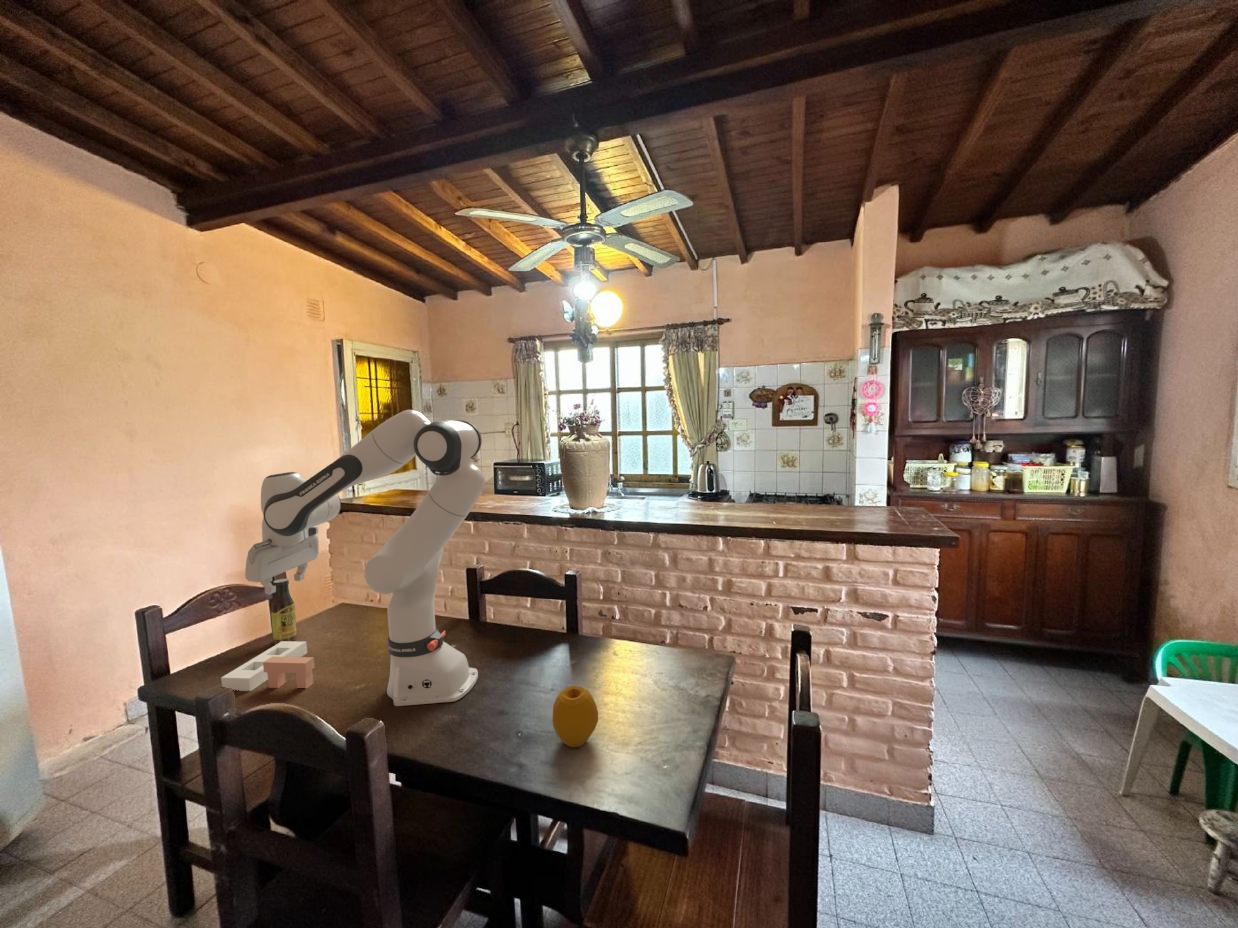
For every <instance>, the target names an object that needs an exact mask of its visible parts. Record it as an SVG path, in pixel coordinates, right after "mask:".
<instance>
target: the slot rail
mask: <svg viewBox="0 0 1238 928" xmlns="http://www.w3.org/2000/svg"><path fill="white" fill-rule="evenodd" d="M307 654H308V645H307V641H295V640H294V641H281V642H280V643H278V644H274V646H272V647H270V648H268V649H267V650H265V651H263V652H262V653H260V654H258V655H256V656H255V657H252V658H251V659H250V660H248V661H246V662H245V663H242V665H240V666H238V667H237V668H235V669H233V670H231V671H230V672H228V673H227V674H225V675H223V676H221V678H220V680H221V688H222V687H226V688H232V689H235V690H237V691H238V690H239V691H238V692H251V691H253V690H254V689H256V688H258V687H259V686H260V685H262V684H264V683H265V682H266V681H268V675H267V672H264V667H263V662H264V661H266V660H267V659H269V658H271V657H272V656H275V657H304V656H305V655H307ZM235 690H234V691H233V692H235Z"/></svg>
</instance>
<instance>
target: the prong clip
mask: <svg viewBox="0 0 1238 928" xmlns="http://www.w3.org/2000/svg"><path fill="white" fill-rule="evenodd" d="M315 664H316V663H315V657H313V656H312V657H311V656H310V657H309V656H308V657H306V656H302V657H275V656H272V657H271V658H269V659H267V660H266V661H264V662H263V667H264V672H267V675H268V680H267V683H268V688H269V689H279V688H281V687H282V686H283V685H285V684H286V683H287V680H286V674H295V682H296V683H295V684H296V689H297V688H305V689H304V690H306V688H307V689H308V688H309V687H311V686H313V685H314V676H313V674H314V673H313V669H315V668H316V666H315ZM284 683H285V684H284Z"/></svg>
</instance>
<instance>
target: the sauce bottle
mask: <svg viewBox="0 0 1238 928" xmlns="http://www.w3.org/2000/svg"><path fill="white" fill-rule="evenodd" d="M289 584H290V583H289V579H288V578H280V579H276V580H273V581H272V585H273V586H276V592H275V593H273V594H274V597H273V598H272V600H271V603H270V609H271V611H270V614H271V616H270V618H271V628H272V630H271V631H272V639H273V644H274V645H276V644H278V643H280V642H281V641H295V640H297V633H298V632H297V630H298V629H297V617H296V605H295V602H294V600H293V598H292V596H291V594H290V590H289Z"/></svg>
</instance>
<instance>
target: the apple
mask: <svg viewBox="0 0 1238 928" xmlns="http://www.w3.org/2000/svg"><path fill="white" fill-rule="evenodd" d="M598 721H599V710H598V707H597V703H596V700H595V698H594V697H593V695H592V694H591V692H589V690H588V689H586V688H585V687H581V686H579V685H570V686H568V687H565V688H564V689H562V690H561V691H560V693H559V694H558V695H557V696H556V698H555V700H554V702H553V707H552V726H553V728H554V732H555V733H556V736H558V738H559V740H561V742H563V743H564V744H565V745H566V746H567V747H570V748H578V747H579V748H580V747H581V746H584V745H585V743H586V742H587V741H588V740H589V738H590V737H591V735H592V734H593V732H594V731H595V729H596V727H597V724H598Z"/></svg>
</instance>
